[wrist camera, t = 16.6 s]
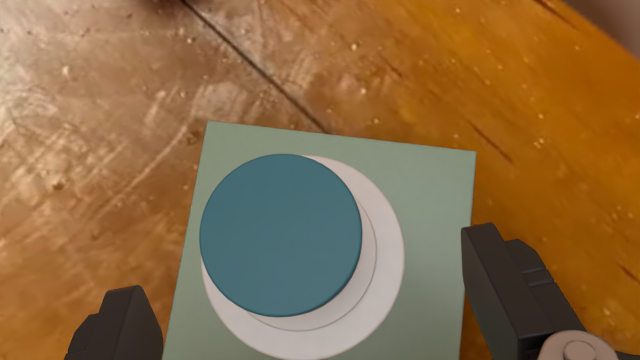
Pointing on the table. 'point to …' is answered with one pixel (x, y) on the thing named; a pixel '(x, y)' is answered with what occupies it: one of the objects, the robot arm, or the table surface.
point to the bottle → (300, 255)
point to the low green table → (414, 217)
